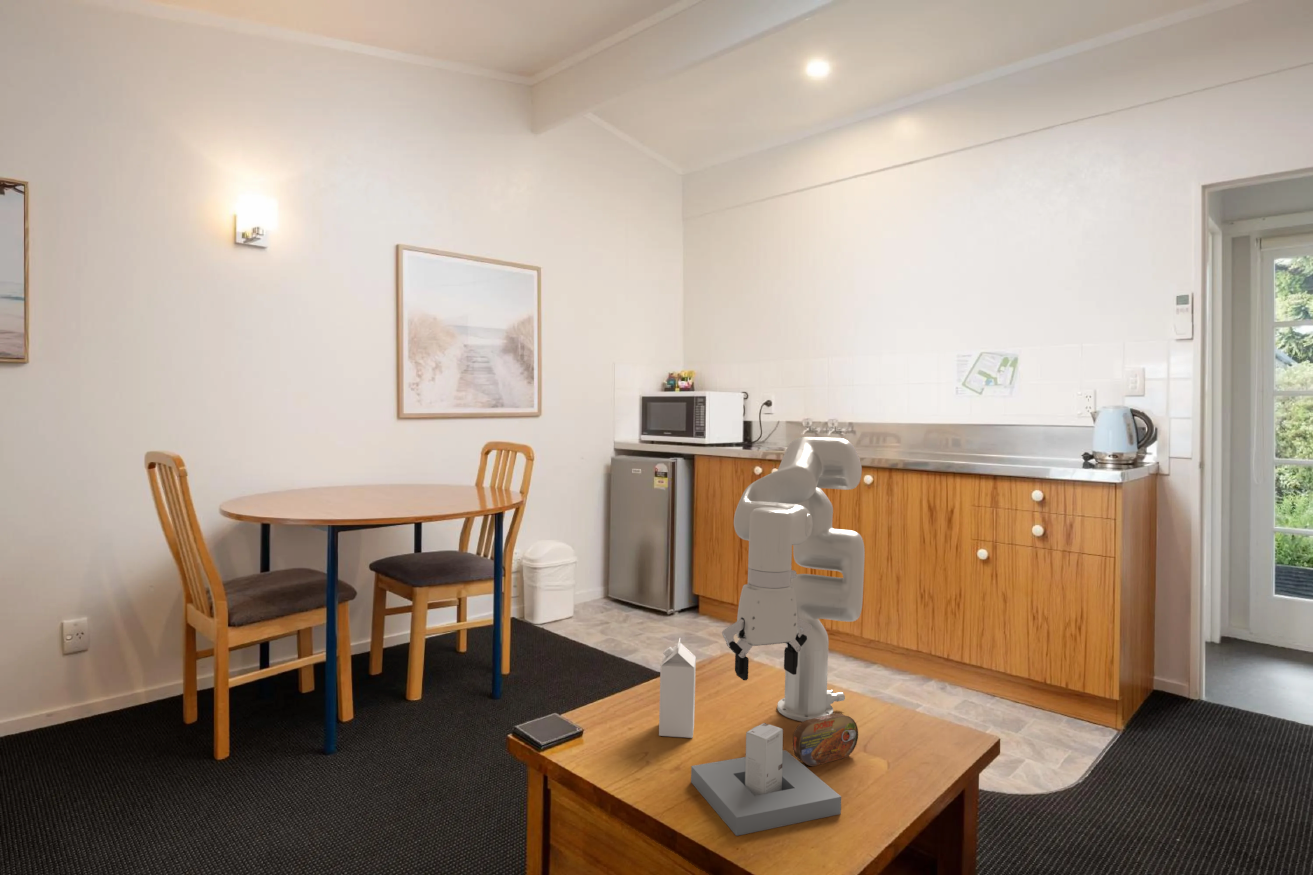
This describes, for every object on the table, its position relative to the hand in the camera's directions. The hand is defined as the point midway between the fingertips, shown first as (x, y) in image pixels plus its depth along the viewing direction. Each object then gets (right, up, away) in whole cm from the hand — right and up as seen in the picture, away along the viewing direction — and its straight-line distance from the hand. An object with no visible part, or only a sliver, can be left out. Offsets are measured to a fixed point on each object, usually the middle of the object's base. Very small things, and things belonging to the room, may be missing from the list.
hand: (766, 674), depth 128 cm
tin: (+14, -22, +16) cm, 31 cm away
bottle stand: (0, -22, +1) cm, 22 cm away
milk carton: (-15, -21, +27) cm, 38 cm away
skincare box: (0, -22, +1) cm, 22 cm away
